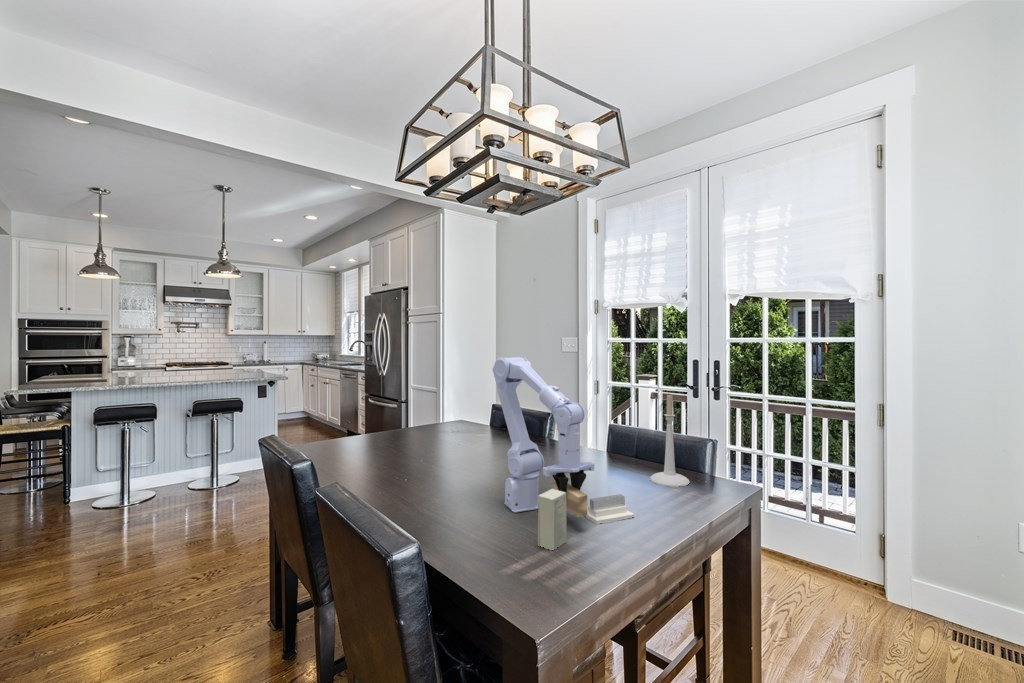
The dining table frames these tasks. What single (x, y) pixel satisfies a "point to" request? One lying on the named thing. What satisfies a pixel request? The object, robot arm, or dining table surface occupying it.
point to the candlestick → (669, 455)
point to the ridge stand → (608, 509)
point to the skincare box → (551, 519)
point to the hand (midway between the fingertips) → (568, 499)
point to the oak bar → (575, 500)
